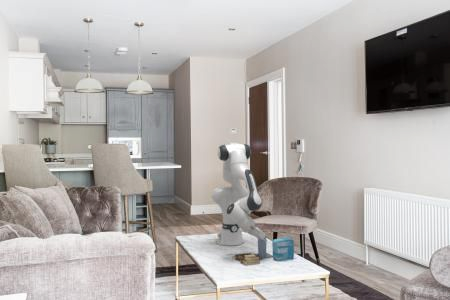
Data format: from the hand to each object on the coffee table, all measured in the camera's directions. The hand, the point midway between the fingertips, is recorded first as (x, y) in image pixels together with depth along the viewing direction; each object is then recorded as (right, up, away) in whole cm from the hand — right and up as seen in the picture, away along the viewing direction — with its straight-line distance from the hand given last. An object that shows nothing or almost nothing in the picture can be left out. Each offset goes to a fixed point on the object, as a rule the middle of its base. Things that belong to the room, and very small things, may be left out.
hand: (262, 240), depth 276 cm
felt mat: (0, -10, 0) cm, 10 cm away
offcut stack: (-8, -10, -16) cm, 21 cm away
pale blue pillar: (0, -9, 0) cm, 9 cm away
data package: (+11, -10, -9) cm, 17 cm away
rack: (-11, -10, -9) cm, 18 cm away
